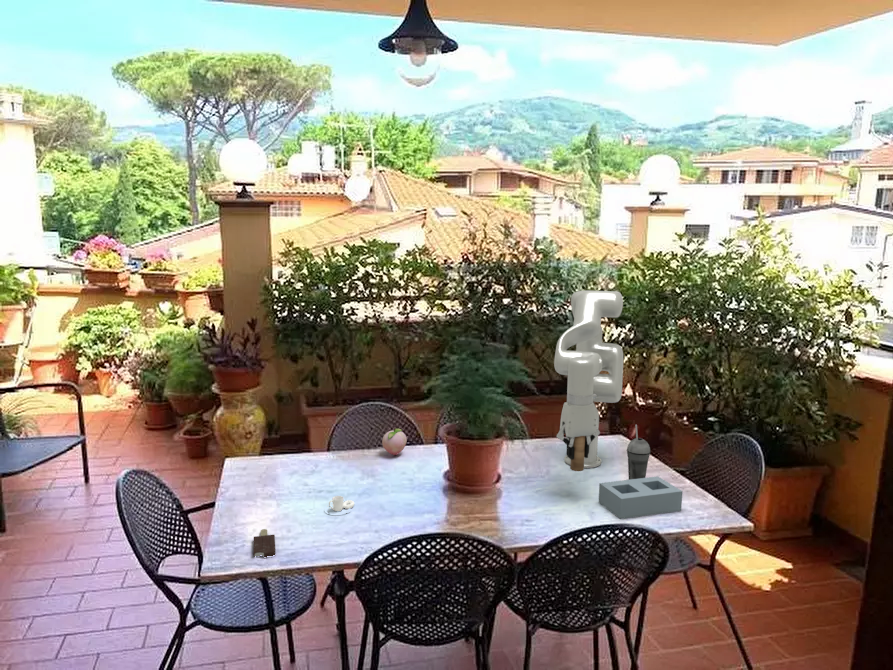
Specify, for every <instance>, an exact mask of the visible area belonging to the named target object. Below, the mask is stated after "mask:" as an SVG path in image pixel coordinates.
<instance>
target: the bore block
mask: <svg viewBox="0 0 893 670" xmlns="http://www.w3.org/2000/svg"><path fill="white" fill-rule="evenodd" d="M598 489H599V490H598V503H599V504H600V505H601V506H602V507H604V508H606V509H607V510H608V511H609V512H610V513H612V514H613V515H615V516H616V518H618V519H620V520H625V519H630V518H638V517H639V518H640V517H644V516H653V515H661V514H667V513H669V514H670V513H675V512H681V511H682V504H683V492H684V491H683V490H681V489H680V488H678V487H676V486H675V485H673V484H672V483H670V482H668V481H666V480H665V479H663V478H661V477H660V476H658V475H657V476H648V477H645V478H639V479H630V480H629V479H623V480H616V481H605V482H599V488H598Z"/></svg>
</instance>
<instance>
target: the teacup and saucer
mask: <svg viewBox="0 0 893 670" xmlns="http://www.w3.org/2000/svg"><path fill="white" fill-rule="evenodd" d="M331 503H332V505H333V507H331V506H330V505H331ZM328 506H330V507H331V508H330V509H332V510H333V511H334V512H336V511H340V512H342V511H341V510H343V509H344V508H345V510H348V509H349V508H352V509H353V508H354V506H355V501H354V500H352V499H351V500H350V499H348V500H345V501H344V496H341V495H337V496H333V497H332V500H330V501H329V502H328Z"/></svg>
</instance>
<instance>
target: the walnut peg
mask: <svg viewBox="0 0 893 670" xmlns="http://www.w3.org/2000/svg"><path fill="white" fill-rule="evenodd" d="M573 447H574V459H573V460H571V464H570V465H569V466H570V468H569V469H570V470H571V471H573V472H583V471H584V470H585V468H584V453H585V436H579V437H575V438H574V442H573Z"/></svg>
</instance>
